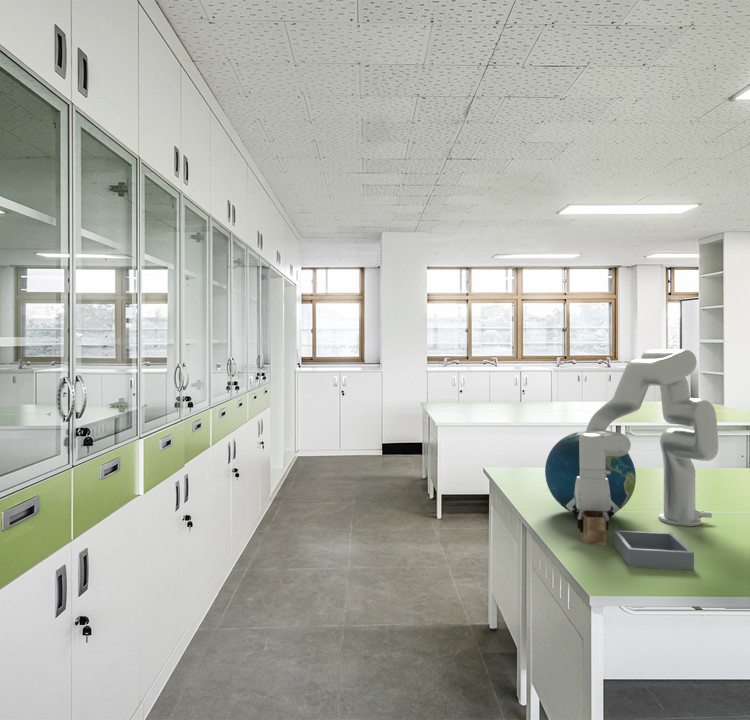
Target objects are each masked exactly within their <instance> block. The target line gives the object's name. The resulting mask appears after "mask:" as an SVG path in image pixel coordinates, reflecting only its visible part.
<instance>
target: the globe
mask: <svg viewBox="0 0 750 720" xmlns="http://www.w3.org/2000/svg"><path fill="white" fill-rule="evenodd" d="M585 432H586V430H584V431H583V430H582V431H577V432H574V433H573V432H572V433H571V434H568V435H566V436H564V437H563V438H561V439H560V440H558V442H556V443H555V445H553V447H552V448H551V450H550V451H549V453H548V455H547V458H546V462H545V466H544V467H545V468H544V476H545V482H546V485H547V487H548V490H549V492H550V494H551V495H552V497H553V498H554V500H555V501H556V502H557V503H558V504H559V505H560V506H561V507H562V508H564V509H565V510H567V511H569V512H570V513H572V512H571V511H570V510H569V509H568V508H567V507H566V505H567V504H568V503H569V502H570V501H571V500H572V499H573V498H574V493H575V483H576V478H577V476H579V438H580V435H581V434H584V433H585ZM630 455H631V454H630V453H629V452H628V453H627V454H625V455H623V456H620V457H613V456H606V457H605V460H606V468H605V469H606V470H610V472H611V474H610V475H607V476H606V478H607V479H608V483H609V488H610V498H611V500H612V501H613V502H614V503H615V504H616V505H617V506H618V507H619V511H620V510H621V509H623V508H624V506H626V504H628V502H629V501H630V500H631V497H632V496H633V494H634V491H635V487H636V479H637V477H636V474H637V473H636V469H635V465H634V462H633V459H632V457H631V456H630ZM573 508H574V509H575V510H576V511H578V509H577V507H576V506H575V504H574V505H573ZM612 508H613V507H612V506H611V509H610V510H612ZM610 510H609V511H610ZM609 511H606V512H607V513H608V512H609Z"/></svg>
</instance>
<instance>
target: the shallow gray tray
mask: <svg viewBox="0 0 750 720" xmlns="http://www.w3.org/2000/svg"><path fill="white" fill-rule="evenodd" d="M613 546H614V548H615V549H616V550H617V552H618V554H619V555H620V557H622V560H624V562H625V563H626V565H627V566H628V567H630V566H635V567H634V568H646V567H649V569H662V568H665V569H666V570H679V569H686V570H685V571H695V552H694V551H692V549H690V548H689V547H688V545H686V544H685V543H684V542H682V540H681V539H679V538H678V536H676V535H675V534H674V533H672V532H657V531H655V532H654V531H638V530H636V531H634V530H618V529H617V530H616V529H615V530H613ZM687 569H689V570H687Z"/></svg>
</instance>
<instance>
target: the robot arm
mask: <svg viewBox="0 0 750 720" xmlns="http://www.w3.org/2000/svg"><path fill="white" fill-rule="evenodd" d="M697 363H698V361H697V358H696V355H695V354H694V352H692V351H691V350H689V349H686V348H683V349H682V348H679V349H677V348H674V349H672V348H671V349H670V348H669V349H667V348H660V349H659V348H656V349H649V350H646V351H645V352H643V354H642V355H641V357H640V358H639V359H638V358H636V359H632V360H630V361H628V363H627V364H626V365H625V367H624V370H623V372H622V375H621V377H620V380H619V382H618V384H617V387H616V390H615V391H614V394H613V397H612V398H611V399H610V400H608V401H607V402H606V403H605V404H604V405H602V406H601V408H599V409H598V410H597V411H596V412H595V413H593V415H592V417H591V418H590V420H589V422H588V425H587V427H586V428H585V429H586V430H585V431H586V432H585V433H584V434H581V435H580V438H579V476H577V478H576V483H575V493H574V498H573V499H572V500H571V501H570V502H569V503H568V504H567V505H566V507H567V508H568V509H569V510H570V511H571V512H570V511H569V512H570V513H572V515H574V516H575V517H576V521H577V524H576V526H577V529H578V531H579V533H580V532H581V533H583V519H582V516H583V514H584V511H599V512H602V514H603V515H604V516H605V517H606V531H609V521H610V519H611V518H612V517H613V516H615V514H617V513H618V512H619V511H620V510H619V507H618V506H617V505H616V504H615V503H614V502H613V501H612V500H611V498H610V488H609V483H608V479H607V478H606V476H607V475H610V474H611V472H610V470H606V469H605V468H606V460H605V457H606V456H613V457H620V456H623V455H625V454H627V453H628V454H629V451H630V450H631V447H632V444H631V443H632V442H631V440H630V439H629V437H628V436H627V435H626V434H623V433H621V432H618V431H617V432H616V431H611V430H607V429H608V427H609V426H610V425H611V424H612V423H613V422H614V421H616V420H617V419H620V418H622V417H624V416H627V415H631V414H633V413H635V412H637V411H639V410H640V409H641V407H642V404H643V402H644V400H645V396H646V394H647V392H648V390H649V387H650V386H656V387H659V389H660V399H661V409H662V410H661V411H662V416H663V419H664V421H665V422H666V423H667V424H669V425H670V424H671V425H674V426H681V427H689V428H692V429H688V428H678V427H672V428H668V429H666V430H664V431H663V432H661V435H660V436H659V437H660V438H659V442H660V443H659V444H660V448H661V454H662V462H663V512H661V513H659V514H658V519H659V520H660V521H661V522H662V523H663V522H664V523H666V524H670V525H674V526H679V527H680V526H682V527H696V526H699V525H702V518H706V519H711V518H712V517H713V514H712V512H711V511H705V510H699V509H697V508H696V501H697V500H696V498H697V497H696V477H697V476H696V469H695V466H694V463H693V462H692V460H698V461H704V462H710V461H712V460H714V459H715V458H716V457H717V455H718V452H719V433H718V432H719V431H718V423H717V421H718V420H717V412H716V410H715V407H714V406H713V404H712V403H711V402H710V401H709V400H708V399H703V398H696V397H695V398H693V397H691V394H690V387H689V382H688V380H687V377H688V376H690V375H691V374H692V373H693V372H694V371H695V370H696V367H697ZM574 504H575V506H576V507H577V509H578V511H576V510H575V509H574V508H573V505H574ZM611 506H612V507H613V508H612V510H610V509H611ZM609 510H610V511H609ZM606 511H609V512H608V513H607V512H606Z"/></svg>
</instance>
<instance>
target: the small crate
mask: <svg viewBox="0 0 750 720" xmlns="http://www.w3.org/2000/svg"><path fill="white" fill-rule="evenodd" d="M582 519H583V533H581V532H580V531H579V535H581V536H580V537H581V539H582V541H583V542H584V544H585V545H586V544H587V545H602V546H606V545H607V530H606V517H605V516H604V515H603V514H602V512H599V511H584V514H583V516H582Z"/></svg>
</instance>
